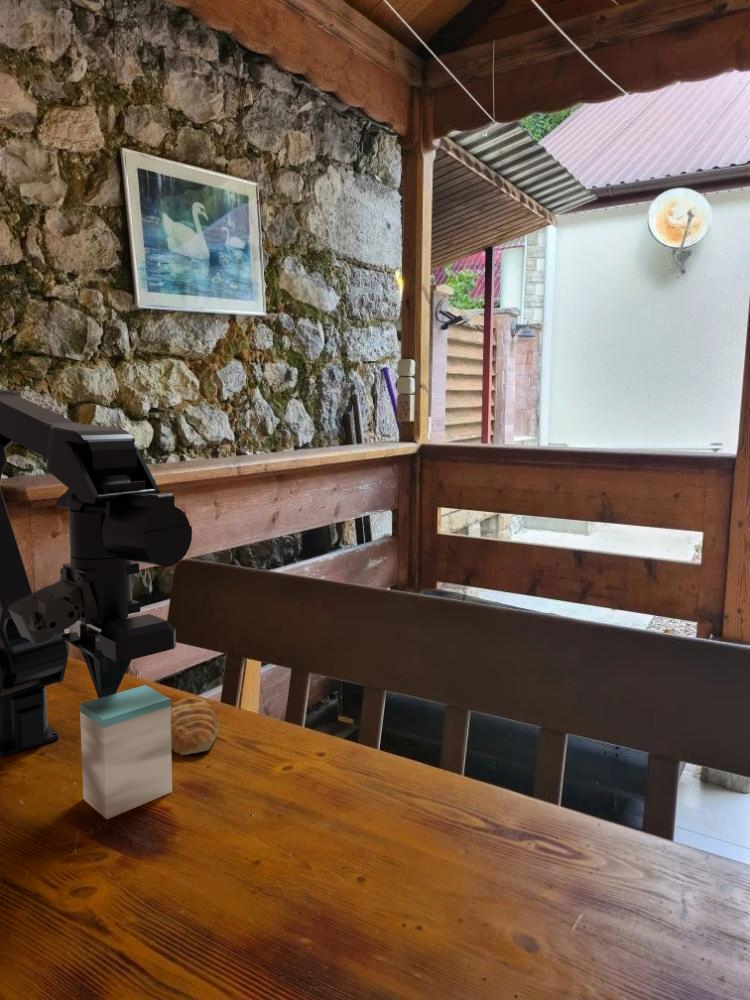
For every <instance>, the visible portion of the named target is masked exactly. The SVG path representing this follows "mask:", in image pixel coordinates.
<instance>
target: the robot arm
mask: <svg viewBox="0 0 750 1000" xmlns="http://www.w3.org/2000/svg"><path fill="white" fill-rule="evenodd" d="M135 441H136V440H135V438H134V436H133V435H132V434H131V433H130V432H129V431H127V430H125V429H123V428H116V427H112V426H111V427H110V426H105V425H97V424H96V425H95V424H86V423H85V424H83V423H80V422H75V421H73V420H71V419H68V418H66V417H64V416H62V415H59V414H57V413H55V412H53V411H51V410H49V409H47V408H45V407H43V406H41V405H38V403H37V404H36V403H34V402H32V401H30V400H28V399H25V398H24V397H22V395H20V394H19V392H15V391H13V390H11V389H0V480H1V478H2V476H3V473H4V471H5V468H6V467H5V466H6V464H7V461H8V458H7V453H6V450H7V449H8V448H9V447H10V446H11V445H12V444H13V443H15V444H18V445H19V446H22V447H23V448H24V449H27V450H29V451H30V452H32V453H35V454H36V455H39V456H41V458H43V459H44V460H45V461H46V462H45V463H46V470H47V472H48V473H49V474H51V476H53V477H54V478H56V480H58V481H59V482H60V483H61V484H62V485H63V486H65V487H66V488H67V490H66V491H65V492H64V493H63V494H61V495H60V496H59V497H58V498H57V499H56V501H55V505H56V506H57V507H58V508H64V509H68V529H69V530H68V532H69V533H68V535H69V536H68V537H69V555H70V556H69V557H70V558H69V559H70V562H68V563H66V562H65V563H62V567H61V568H60V569H59V571H60V573H59V574H60V577H59V580H58V581H57V582H55V583H52V584H50V585H47V586H44V587H43V588H40V589H38V590H36V591H35V592H33V589H32V587H31V586H32V585H31V583H30V580H29V577H28V573H27V570H26V567H25V564H24V561H23V557H22V554H21V550H20V548H19V544H18V541H17V538H16V535H15V531H14V528H13V525H12V522H11V518H10V515H9V512H8V509H7V505H6V502H5V499H4V496H3V493H2V489H1V488H0V756H3V757H5V756H8V755H11V754H14V753H18V752H21V751H24V750H26V749H29V748H34V747H37V746H39V745H43V744H45V743H49V742H52V741H56V740H58V739H60V733H59V732H58V731H57V730H55V729H54V728H53V727H51V725H49V724H48V708H47V707H48V704H47V687H48V686H51V685H54V684H57V683H61V682H63V681H64V678H65V673H66V669H67V664H68V659H69V655H70V646H69V644H70V645H72V646H73V647H76V649H78V650H79V651H80V652H81V655H82V657H83V659H84V661H85V664H86V667H87V669H88V672H89V676H90V678H91V681H92V685H93V687H94V689H95V693H96V696H97V699H99V698H102V697H106V696H109V695H113V694H116V693H118V689H119V687H120V686H121V683H122V681H123V679H124V677H125V674H126V672H127V670H128V668H129V666H130V665H131V662H132V661H133V660H137V659H140V658H144V657H148V656H152V655H155V654H159V653H162V652H167V651H170V650H175V648H176V647H177V637H176V636H177V633H176V631H177V629H176V627H175V626H174V625H172V624H171V623H170V622H169V621H168V620H167V619H164V618H161V617H158V616H156V615H153V614H151V613H147V614H142V615H137V616H133V617H132V616H131V617H130V616H129V615H132V614H136V613H141V602H140V601H138V600H136V599H133V591H132V590H133V589H132V575H134V574H140V564H141V563H142V564H147V565H152V566H156V567H157V566H158V567H164V568H168V567H169V568H170V567H173V566H174V565H177V564H178V563H179V562H181V560H182V561H183V558H185V556H186V555H187V553H188V551H189V549H190V547H191V542H192V539H193V527H192V525H191V524H190V521H189V518H188V517H187V515H186V513H185V512H184V511H183V510H182V509H180V508H179V507H177V506H176V505H175V504H176V503H175V501H176V500H175V494H174V493H170V492H162V493H161V490H160V488H159V487H158V484H157V482H156V478H155V476H154V475H153V474H152V472H151V471H150V468H149V466H148V464H147V463H146V461H145V459H144V457H143V455H142V453H141V451H140V449H139V447H138V446H137V444H136V443H135ZM66 629H68V632H67V633H66V632H65V630H66Z"/></svg>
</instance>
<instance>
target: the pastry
mask: <svg viewBox="0 0 750 1000" xmlns="http://www.w3.org/2000/svg"><path fill="white" fill-rule="evenodd" d="M220 723H221V722H220V720H219V718H218V710H217V709H216V708H215V707H214V706H213V705H212V704H211V703H208V702H206V700H205V699H203V698H200V697H195V696H191V697H189V696H188V697H184V698H182V699H180V701H175V702H173V703H172V705H171V751H173V752H174V753H175V754H179V755H180V756H187V755H190V754H197V753H202V752H206V751H207V752H208V751H209V750H210V748H211V746H212V745H213V743H214V741H215V740H216V739H217V738H218V733H219V730H220V727H221V724H220Z"/></svg>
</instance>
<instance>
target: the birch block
mask: <svg viewBox="0 0 750 1000" xmlns="http://www.w3.org/2000/svg"><path fill="white" fill-rule="evenodd" d="M171 706H172V705H171V698H170V697H168V696H166V695H164V694H162V693H160V692H159V691H157V690H155V689H154V688H152V687H150V686H148V685H146V684H144V685H140V686H137V687H134V688H130V689H127V690H123V691H120V692H116V694H113V695H109V696H106V697H102V698H95V699H93V700H88V701H86V702H81V703H80V704H79V715H80V740H81V741H80V743H81V744H80V747H81V749H80V750H81V769H82V770H81V772H82V798H83V800H84V802H86V803H87V804H89V806H91V808H93V809H94V810H95V811H96V812H98V814H100V815H101V816H102V817H103V818H104V819H106V820H109V819H111V818H113V817H116V816H119V815H121V814H123V813H125V812H127V811H131V810H133V809H135V808H138V807H140V806H142V805H144V804H147V803H149V802H151V801H154V800H157V799H159V798H162V797H163V796H166V795H168V794H170V793H173V771H172V770H173V769H172V768H173V766H172V764H173V763H172V761H173V759H172V757H173V756H172V748H171Z"/></svg>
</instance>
